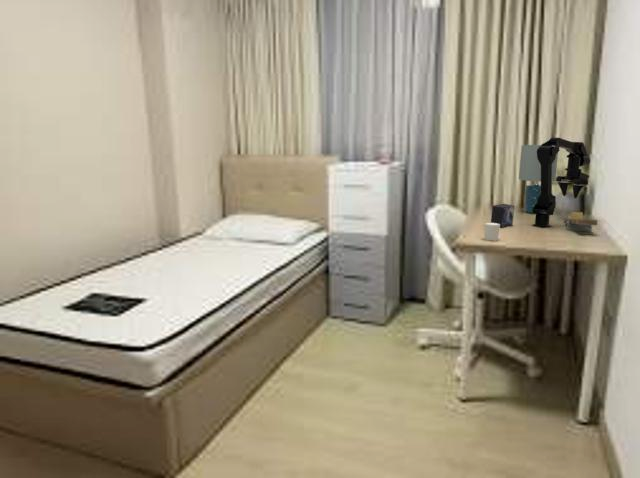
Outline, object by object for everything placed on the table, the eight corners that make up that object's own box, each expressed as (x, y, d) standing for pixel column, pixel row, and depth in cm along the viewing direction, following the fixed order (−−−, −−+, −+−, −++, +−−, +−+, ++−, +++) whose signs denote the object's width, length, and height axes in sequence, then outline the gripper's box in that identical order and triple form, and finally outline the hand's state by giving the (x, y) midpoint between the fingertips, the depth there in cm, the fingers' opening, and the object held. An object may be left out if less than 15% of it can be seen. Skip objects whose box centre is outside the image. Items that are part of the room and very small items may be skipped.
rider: (582, 221, 264) (582, 212, 264) (571, 221, 265) (571, 212, 265) (578, 221, 271) (578, 212, 270) (567, 221, 272) (568, 212, 271)
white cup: (488, 241, 235) (489, 225, 234) (479, 238, 242) (480, 222, 240) (502, 240, 237) (503, 224, 236) (493, 237, 244) (494, 222, 242)
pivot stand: (599, 236, 247) (600, 226, 246) (572, 234, 249) (573, 225, 248) (584, 225, 271) (585, 216, 270) (560, 224, 273) (561, 215, 272)
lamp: (519, 214, 301) (526, 146, 293) (512, 209, 320) (518, 144, 311) (556, 215, 298) (563, 146, 290) (546, 210, 317) (553, 145, 309)
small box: (501, 228, 264) (503, 207, 262) (489, 226, 269) (491, 205, 267) (513, 225, 271) (515, 205, 268) (501, 223, 276) (503, 203, 273)
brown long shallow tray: (597, 225, 246) (597, 220, 246) (577, 224, 248) (577, 219, 247) (581, 223, 271) (581, 219, 271) (563, 223, 273) (563, 218, 273)
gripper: (599, 168, 268) (595, 199, 271) (576, 165, 286) (572, 195, 289) (579, 168, 266) (575, 199, 270) (557, 165, 284) (553, 194, 288)
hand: (569, 197), depth 279 cm, fingers open, 9 cm apart
